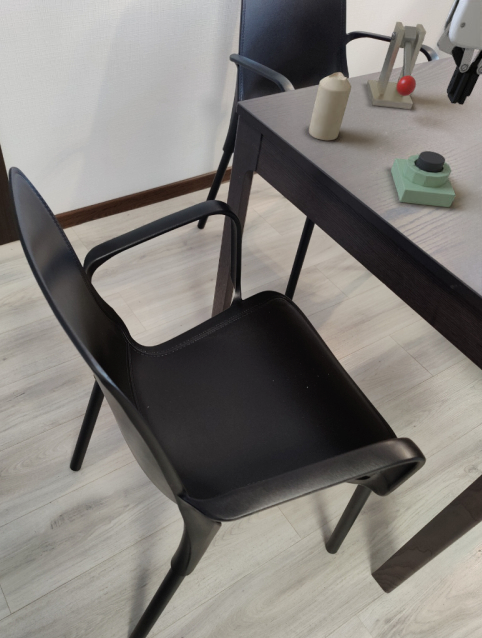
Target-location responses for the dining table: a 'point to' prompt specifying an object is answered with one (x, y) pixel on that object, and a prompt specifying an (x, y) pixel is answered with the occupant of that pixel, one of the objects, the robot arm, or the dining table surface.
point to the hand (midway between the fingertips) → (454, 99)
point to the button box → (422, 183)
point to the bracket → (382, 89)
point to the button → (430, 162)
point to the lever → (407, 62)
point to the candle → (330, 106)
